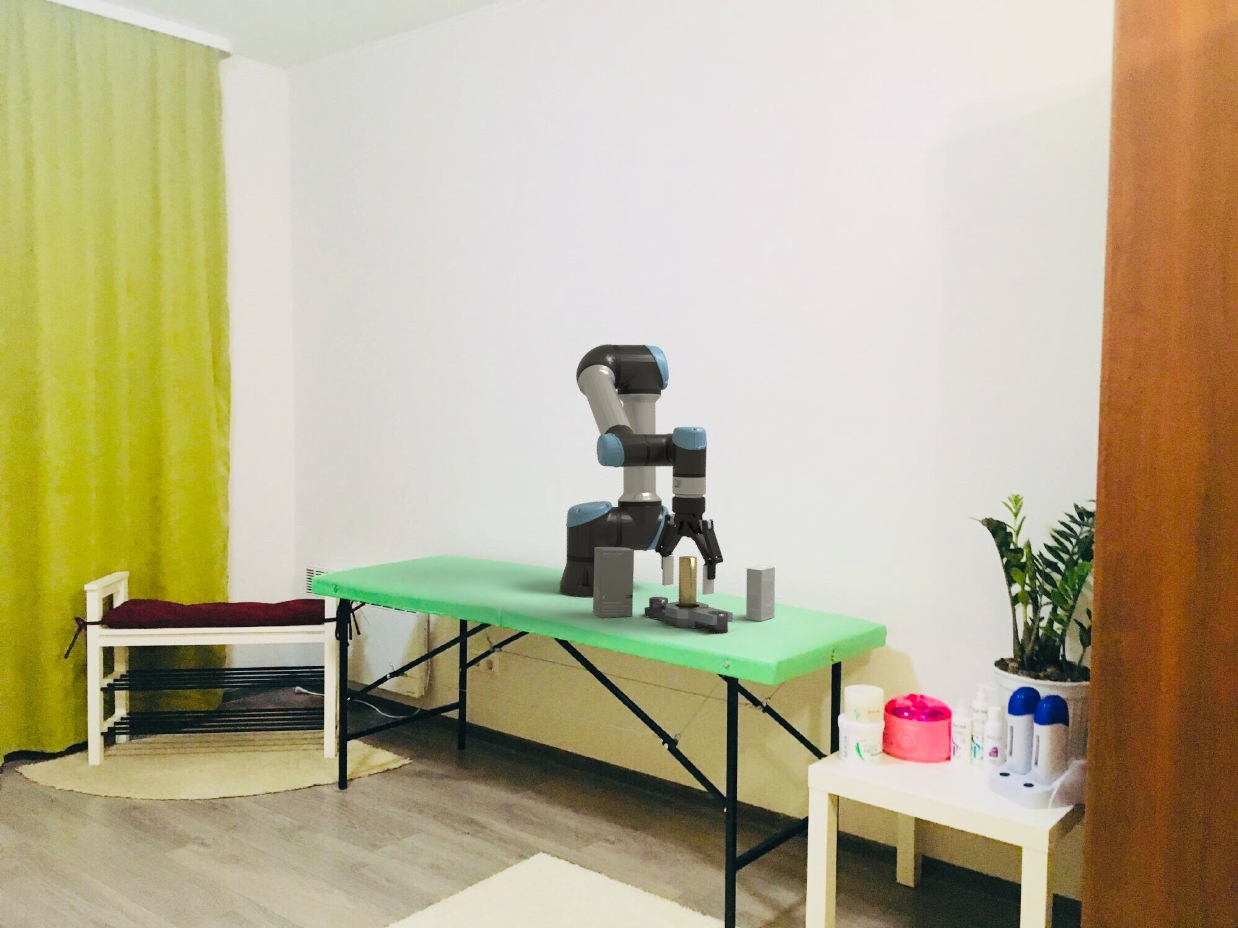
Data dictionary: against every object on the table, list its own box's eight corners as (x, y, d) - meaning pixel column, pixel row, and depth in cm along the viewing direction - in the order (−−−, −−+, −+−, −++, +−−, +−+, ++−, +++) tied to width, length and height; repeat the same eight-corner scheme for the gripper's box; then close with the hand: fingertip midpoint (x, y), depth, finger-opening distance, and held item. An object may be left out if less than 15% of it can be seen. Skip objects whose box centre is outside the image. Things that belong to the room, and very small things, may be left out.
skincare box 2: (759, 614, 241) (759, 564, 240) (774, 617, 238) (775, 566, 238) (745, 619, 236) (746, 567, 236) (761, 621, 234) (761, 569, 233)
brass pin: (674, 622, 232) (675, 556, 231) (687, 620, 234) (688, 555, 233) (686, 625, 229) (687, 559, 228) (699, 623, 231) (700, 557, 230)
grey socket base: (636, 616, 238) (636, 599, 238) (667, 611, 244) (667, 594, 244) (708, 635, 219) (708, 617, 219) (740, 630, 225) (740, 612, 225)
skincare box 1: (599, 618, 235) (600, 550, 234) (591, 612, 242) (592, 545, 241) (634, 616, 238) (635, 549, 237) (626, 610, 245) (626, 544, 244)
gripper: (640, 492, 237) (639, 582, 239) (715, 501, 218) (713, 599, 219) (665, 490, 242) (664, 579, 243) (740, 499, 222) (738, 595, 224)
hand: (687, 589), depth 231 cm, fingers open, 13 cm apart
